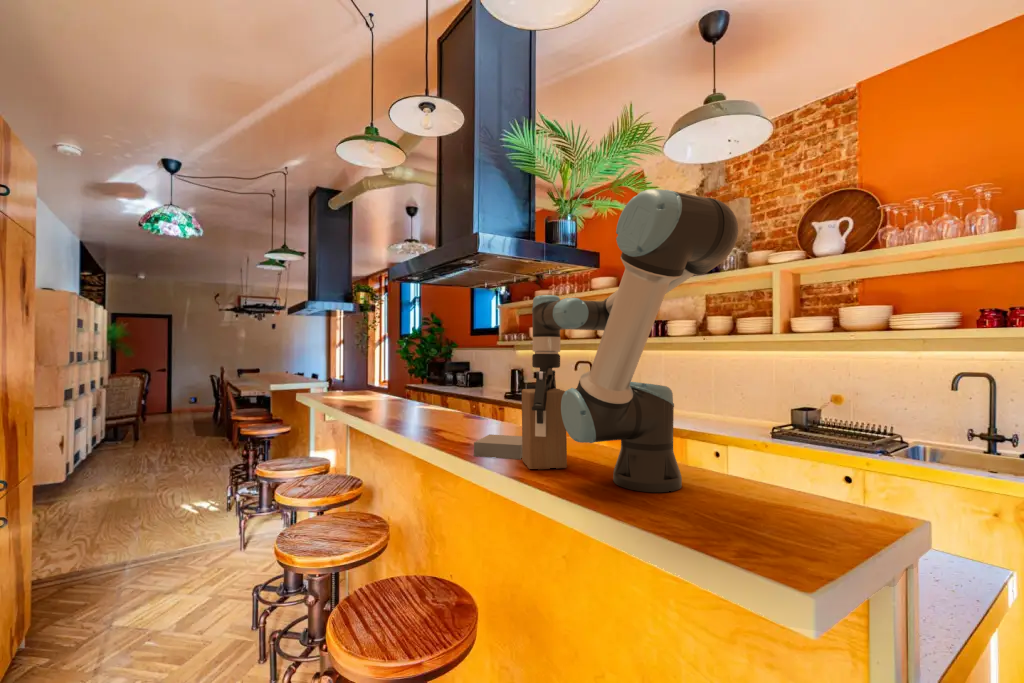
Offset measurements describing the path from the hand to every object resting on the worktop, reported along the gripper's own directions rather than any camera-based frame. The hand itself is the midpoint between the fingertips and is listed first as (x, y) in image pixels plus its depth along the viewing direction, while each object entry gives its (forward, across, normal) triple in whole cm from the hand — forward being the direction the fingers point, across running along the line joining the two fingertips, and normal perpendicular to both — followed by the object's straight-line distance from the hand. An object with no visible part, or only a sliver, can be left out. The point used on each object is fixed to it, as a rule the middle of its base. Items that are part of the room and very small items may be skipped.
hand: (545, 432), depth 125 cm
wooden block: (+9, 0, 0) cm, 9 cm away
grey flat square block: (+9, -11, -15) cm, 21 cm away
